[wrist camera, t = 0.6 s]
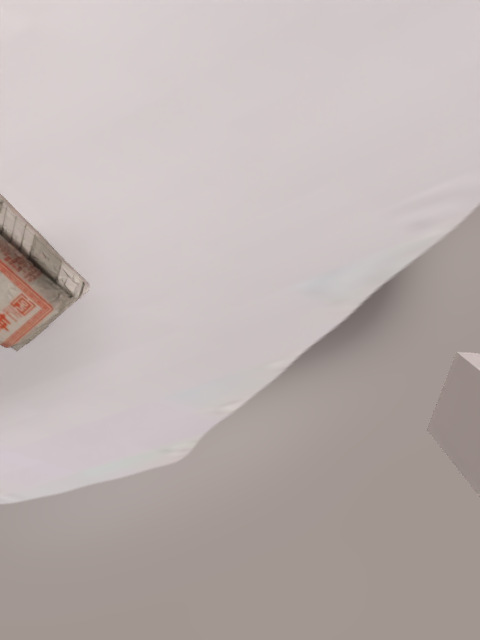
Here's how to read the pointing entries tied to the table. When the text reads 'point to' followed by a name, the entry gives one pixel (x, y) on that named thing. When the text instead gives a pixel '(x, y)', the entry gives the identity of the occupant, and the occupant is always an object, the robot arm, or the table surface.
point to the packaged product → (31, 280)
